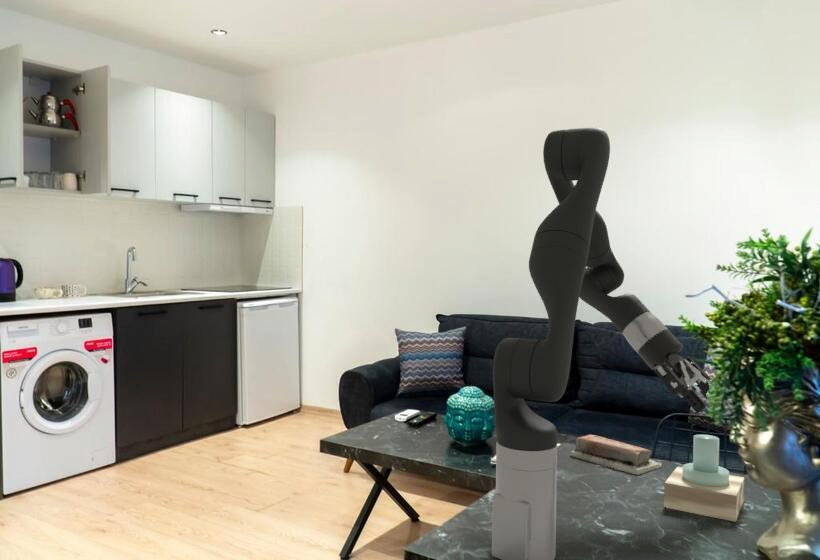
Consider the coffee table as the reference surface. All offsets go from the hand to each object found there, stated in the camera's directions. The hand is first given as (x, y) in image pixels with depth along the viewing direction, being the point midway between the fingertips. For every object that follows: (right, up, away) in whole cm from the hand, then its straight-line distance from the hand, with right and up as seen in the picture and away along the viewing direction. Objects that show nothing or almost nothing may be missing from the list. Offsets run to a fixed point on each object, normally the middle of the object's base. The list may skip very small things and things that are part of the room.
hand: (710, 406), depth 122 cm
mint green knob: (-1, -14, +1) cm, 14 cm away
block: (-1, -19, +1) cm, 19 cm away
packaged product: (-10, -18, +27) cm, 34 cm away
